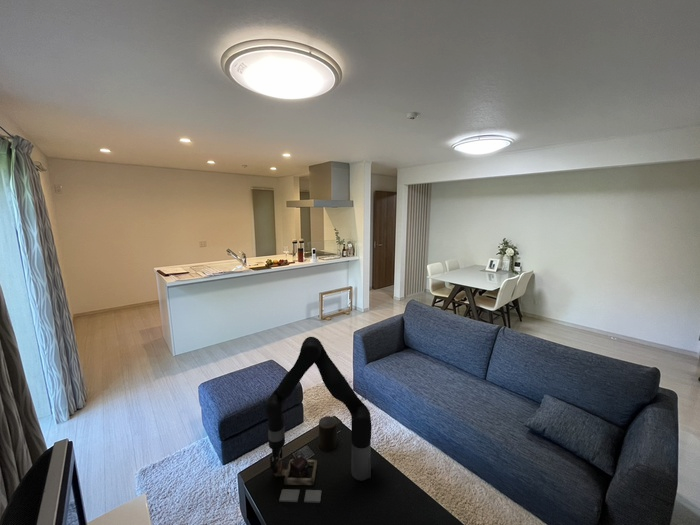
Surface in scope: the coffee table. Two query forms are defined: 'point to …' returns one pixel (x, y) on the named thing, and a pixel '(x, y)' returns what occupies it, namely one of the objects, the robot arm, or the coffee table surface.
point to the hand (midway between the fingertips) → (277, 464)
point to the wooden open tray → (296, 480)
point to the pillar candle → (327, 433)
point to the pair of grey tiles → (293, 495)
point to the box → (298, 467)
